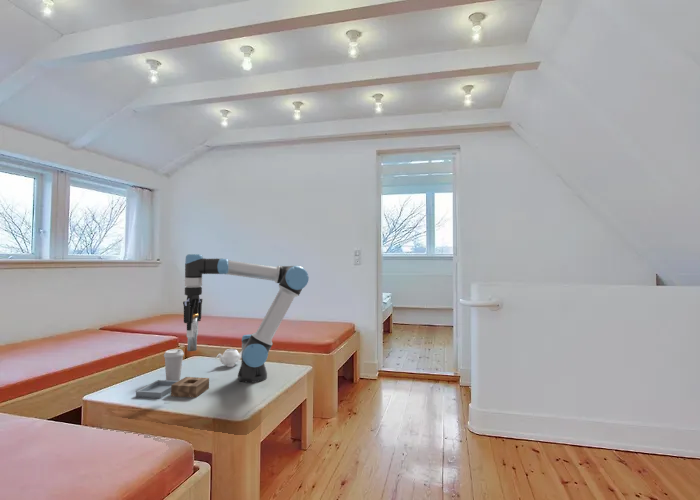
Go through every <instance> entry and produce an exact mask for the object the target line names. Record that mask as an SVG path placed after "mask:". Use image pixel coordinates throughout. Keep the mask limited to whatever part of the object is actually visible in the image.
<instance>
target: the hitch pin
mask: <svg viewBox="0 0 700 500" xmlns="http://www.w3.org/2000/svg"><path fill="white" fill-rule="evenodd" d="M197 316H199V314H194V313H193V319H192V323H193V337H187V347H186V348H187V352H195V351H197V347H198V346H197V345H198V335H197Z"/></svg>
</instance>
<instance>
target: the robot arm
mask: <svg viewBox="0 0 700 500" xmlns="http://www.w3.org/2000/svg"><path fill="white" fill-rule="evenodd" d="M203 275H227V276H228V275H229V276H235V277H243V278H249V279H250V278H251V279H257V280H258V279H259V280H264V281H272V282H275V284H278V289H279V291H278V292H277V293H276V295H275V297H274V299H273V301H272V303H271V305H270V306H269V308H268V310H267V312H266V313H265V316H264V318H263V319H262V320H261V323H260V324H259V326H258V329H257V331H256V332H254V333H251V334H244V335H242V337H241V351H242V357H241V363H240V367H239V370H238V372H237V381H239V382H242V383H258V382H262V381H265V380H266V379H267V378H268V372H267V369H266V365H265V363H266V362H267V360H268V358H269V357H268V356H269V353H270V350H271V348H272V346H273V338H274V336H275V334H276V332H277V331H278V329H279V327H280V326H281V323H282V321H283V319H284V318H285V316H286V314H287V312H288V311H289V308H290V307H291V305H292V303H293V301H294V299H295V298H296V297H298V296H300V294H301V293H302V290H303V289H304V288H305V287H306V286H307V285H308V283H309V278H310V277H309V273H308V271H307V270H306V269H305V268H304V267H302V266H299V265H277V266H271V265H266V264H265V265H263V264H257V263H251V262H245V261H237V260H229V259H228V258H217V257H216V258H205V257H204V256H203V255H202V254H198V253H197V254H196V253H195V254H193V253H191V254H186V256H185V263H184V286H185V287H184V295H185V296H186V300H185V301H183V302H182V303H183V323H184V324H186V338H188V337H193V323H192V319H193V313H194V314H199V316H197V336H199V322H201V320H202V306H203V305H202V304H203V298H200V295H201V296H202V294H203V287H202V286H203Z"/></svg>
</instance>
